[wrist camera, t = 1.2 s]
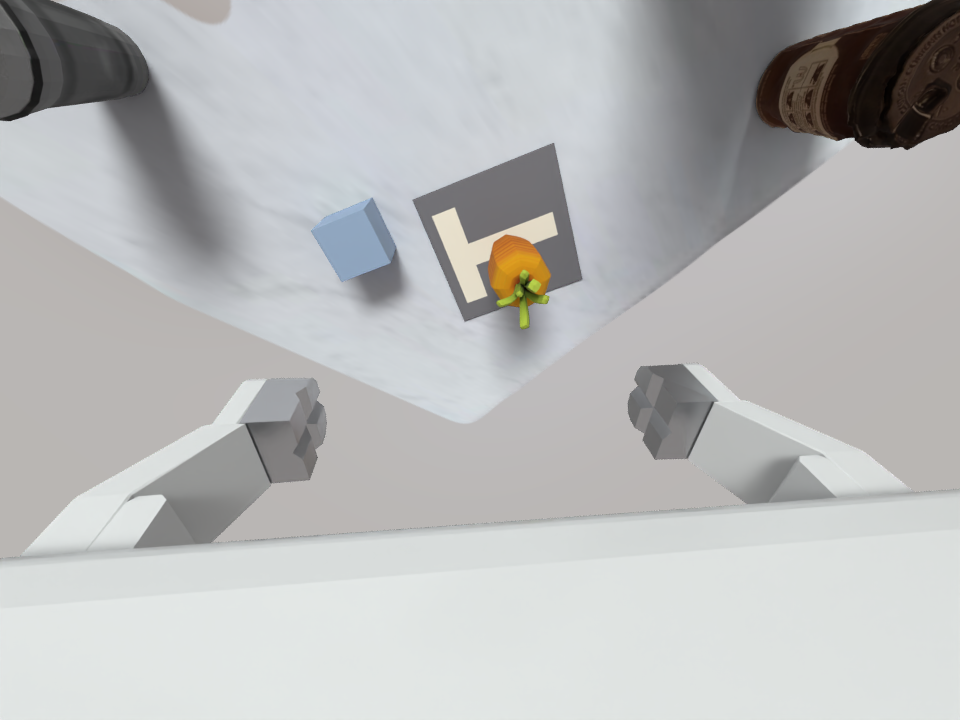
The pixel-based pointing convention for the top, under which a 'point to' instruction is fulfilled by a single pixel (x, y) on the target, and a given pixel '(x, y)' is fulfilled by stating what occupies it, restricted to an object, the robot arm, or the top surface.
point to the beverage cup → (62, 59)
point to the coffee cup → (871, 80)
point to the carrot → (518, 275)
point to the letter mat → (500, 225)
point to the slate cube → (355, 240)
